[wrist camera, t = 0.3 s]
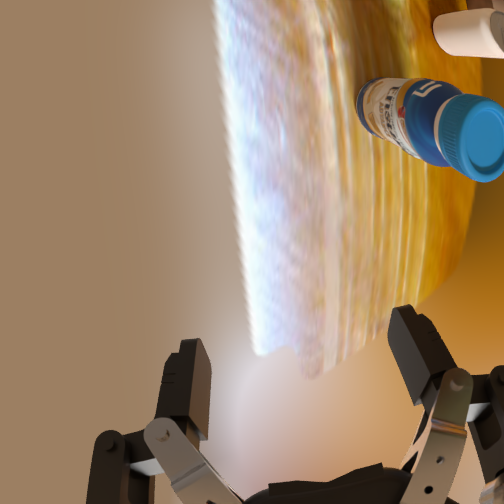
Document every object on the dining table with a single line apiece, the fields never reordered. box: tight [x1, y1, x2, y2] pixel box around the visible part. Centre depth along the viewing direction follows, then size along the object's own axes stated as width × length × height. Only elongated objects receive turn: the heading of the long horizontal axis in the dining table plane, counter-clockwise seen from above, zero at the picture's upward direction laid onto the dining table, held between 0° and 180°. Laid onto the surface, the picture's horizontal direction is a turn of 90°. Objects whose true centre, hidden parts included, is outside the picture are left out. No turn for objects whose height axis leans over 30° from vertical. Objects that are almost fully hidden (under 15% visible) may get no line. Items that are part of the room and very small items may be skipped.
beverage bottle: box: [356, 77, 504, 182], centre depth 24 cm, size 8×8×20 cm
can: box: [433, 8, 504, 58], centre depth 21 cm, size 6×6×12 cm
